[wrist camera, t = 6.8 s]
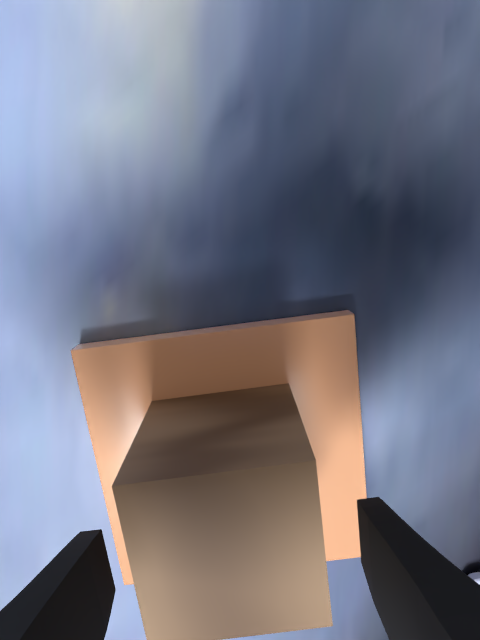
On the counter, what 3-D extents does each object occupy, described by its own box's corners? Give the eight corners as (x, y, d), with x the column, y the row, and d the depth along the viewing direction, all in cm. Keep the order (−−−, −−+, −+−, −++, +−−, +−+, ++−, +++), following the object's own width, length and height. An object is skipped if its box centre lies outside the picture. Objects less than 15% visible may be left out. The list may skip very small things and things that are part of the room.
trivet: (348, 309, 15) (354, 314, 14) (364, 540, 17) (370, 555, 16) (78, 344, 15) (70, 350, 14) (129, 569, 17) (124, 585, 17)
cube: (288, 383, 15) (315, 459, 10) (302, 503, 16) (332, 625, 11) (151, 400, 15) (111, 486, 10) (174, 519, 16) (148, 648, 11)
